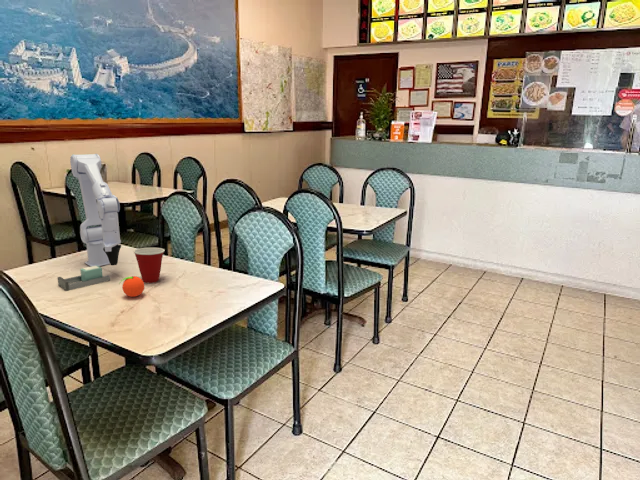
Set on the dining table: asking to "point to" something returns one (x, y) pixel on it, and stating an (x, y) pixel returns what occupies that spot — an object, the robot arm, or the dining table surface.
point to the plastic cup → (149, 263)
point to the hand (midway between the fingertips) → (114, 264)
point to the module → (91, 273)
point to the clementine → (133, 286)
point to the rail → (67, 286)
